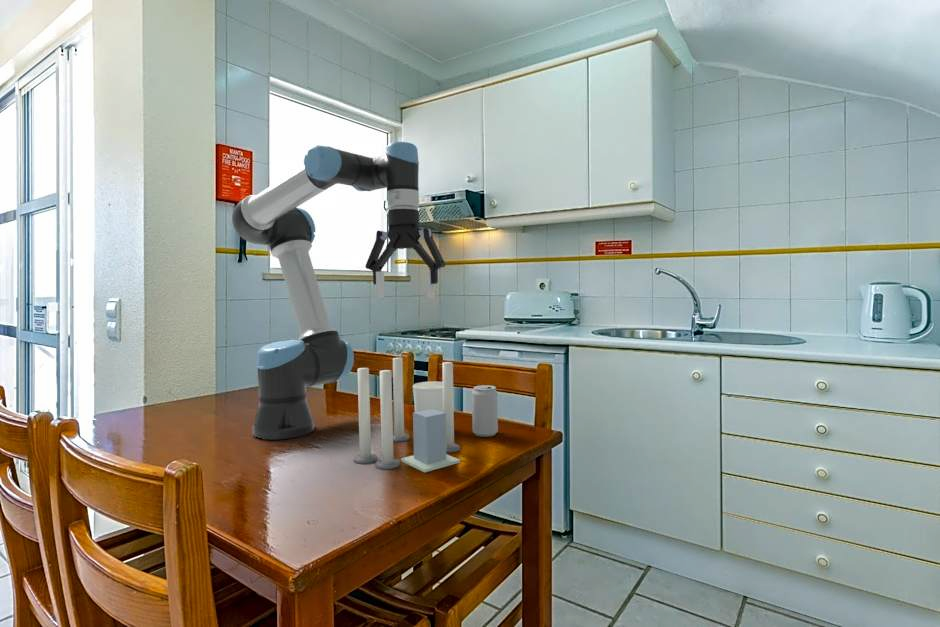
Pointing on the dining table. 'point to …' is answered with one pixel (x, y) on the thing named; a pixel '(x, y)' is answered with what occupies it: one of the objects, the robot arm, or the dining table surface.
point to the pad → (429, 467)
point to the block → (429, 436)
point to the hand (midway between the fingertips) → (405, 298)
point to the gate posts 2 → (387, 421)
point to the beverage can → (484, 410)
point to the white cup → (428, 396)
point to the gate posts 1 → (364, 411)
